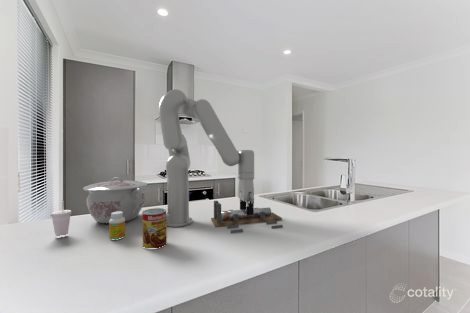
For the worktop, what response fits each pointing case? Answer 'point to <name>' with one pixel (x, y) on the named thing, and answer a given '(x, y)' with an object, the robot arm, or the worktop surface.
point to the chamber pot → (115, 199)
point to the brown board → (236, 221)
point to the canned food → (154, 228)
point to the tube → (244, 213)
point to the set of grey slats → (242, 229)
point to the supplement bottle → (116, 225)
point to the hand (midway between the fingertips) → (246, 212)
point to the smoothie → (61, 221)
